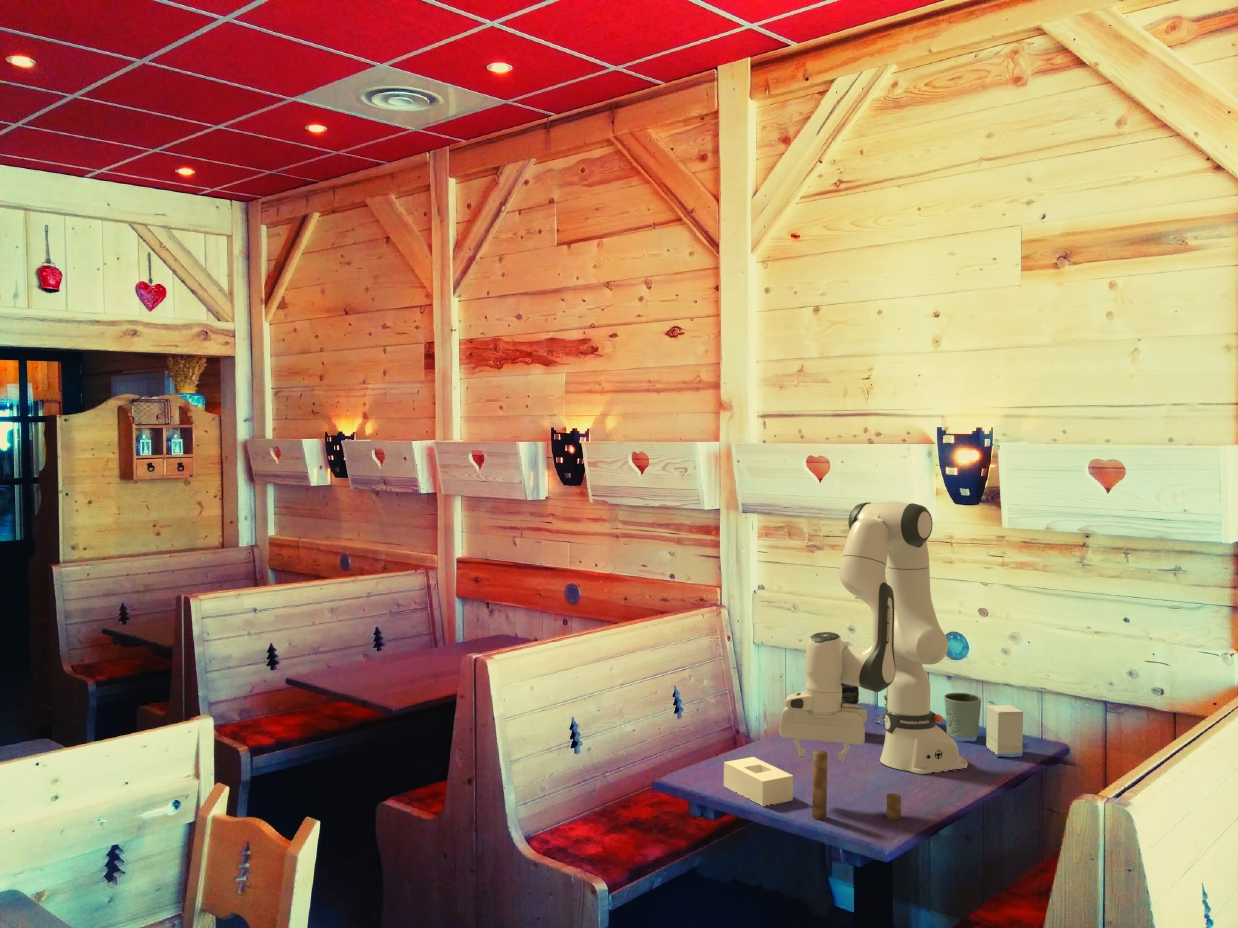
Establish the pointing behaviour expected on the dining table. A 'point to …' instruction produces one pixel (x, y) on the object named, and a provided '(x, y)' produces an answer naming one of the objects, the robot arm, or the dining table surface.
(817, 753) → the long walnut pin
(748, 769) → the bar
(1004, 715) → the supplement box
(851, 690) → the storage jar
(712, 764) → the dining table surface
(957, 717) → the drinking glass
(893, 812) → the short walnut pin
